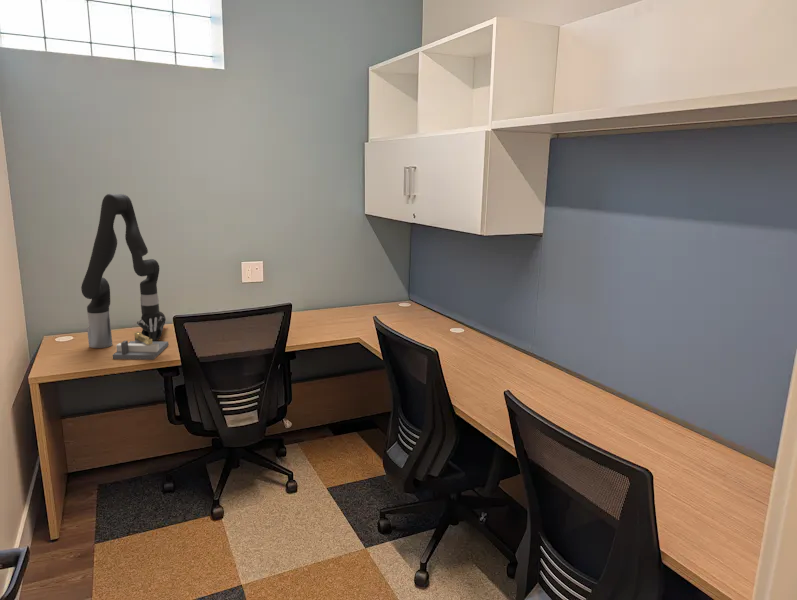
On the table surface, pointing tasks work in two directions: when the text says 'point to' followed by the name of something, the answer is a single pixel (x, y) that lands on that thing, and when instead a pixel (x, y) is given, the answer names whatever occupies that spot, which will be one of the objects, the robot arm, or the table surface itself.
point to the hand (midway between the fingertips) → (152, 338)
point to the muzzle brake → (158, 332)
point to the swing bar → (143, 338)
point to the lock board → (142, 354)
